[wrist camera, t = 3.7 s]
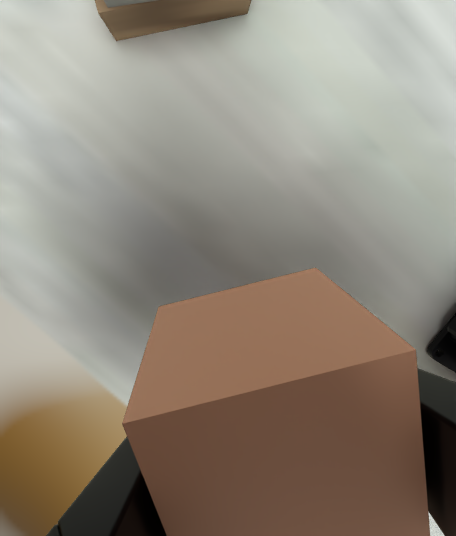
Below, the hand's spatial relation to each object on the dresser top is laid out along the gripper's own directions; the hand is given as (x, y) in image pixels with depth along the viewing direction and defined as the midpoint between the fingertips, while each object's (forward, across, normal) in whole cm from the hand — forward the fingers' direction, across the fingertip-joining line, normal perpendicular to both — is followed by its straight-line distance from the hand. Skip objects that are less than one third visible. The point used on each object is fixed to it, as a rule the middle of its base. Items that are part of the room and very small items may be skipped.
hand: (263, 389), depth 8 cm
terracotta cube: (+2, 0, 0) cm, 2 cm away
